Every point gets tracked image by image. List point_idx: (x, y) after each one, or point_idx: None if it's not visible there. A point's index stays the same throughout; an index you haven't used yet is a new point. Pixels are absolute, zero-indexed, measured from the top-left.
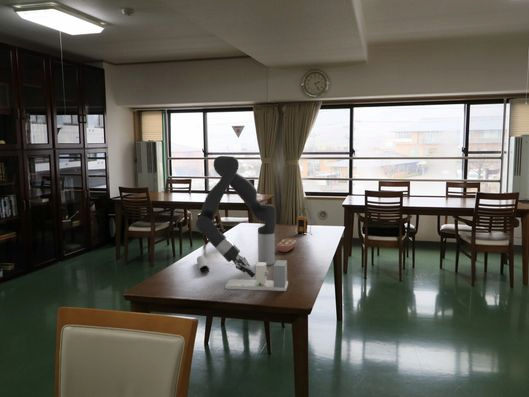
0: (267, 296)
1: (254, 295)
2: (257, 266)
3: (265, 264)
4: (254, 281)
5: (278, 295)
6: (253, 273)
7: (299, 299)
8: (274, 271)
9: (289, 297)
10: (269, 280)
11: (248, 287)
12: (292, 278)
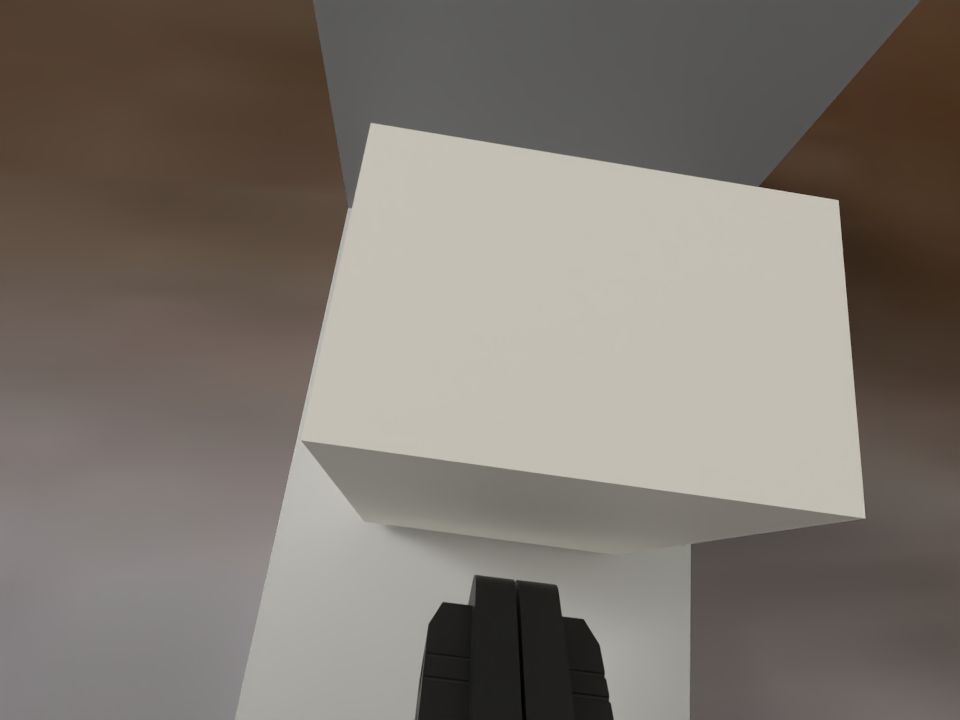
0: (932, 372)
1: (937, 566)
2: (830, 457)
3: (602, 173)
4: (370, 603)
5: (861, 235)
6: (562, 625)
7: (940, 39)
8: (856, 54)
9: (902, 124)
10: (325, 317)
11: (678, 707)
12: (100, 16)
